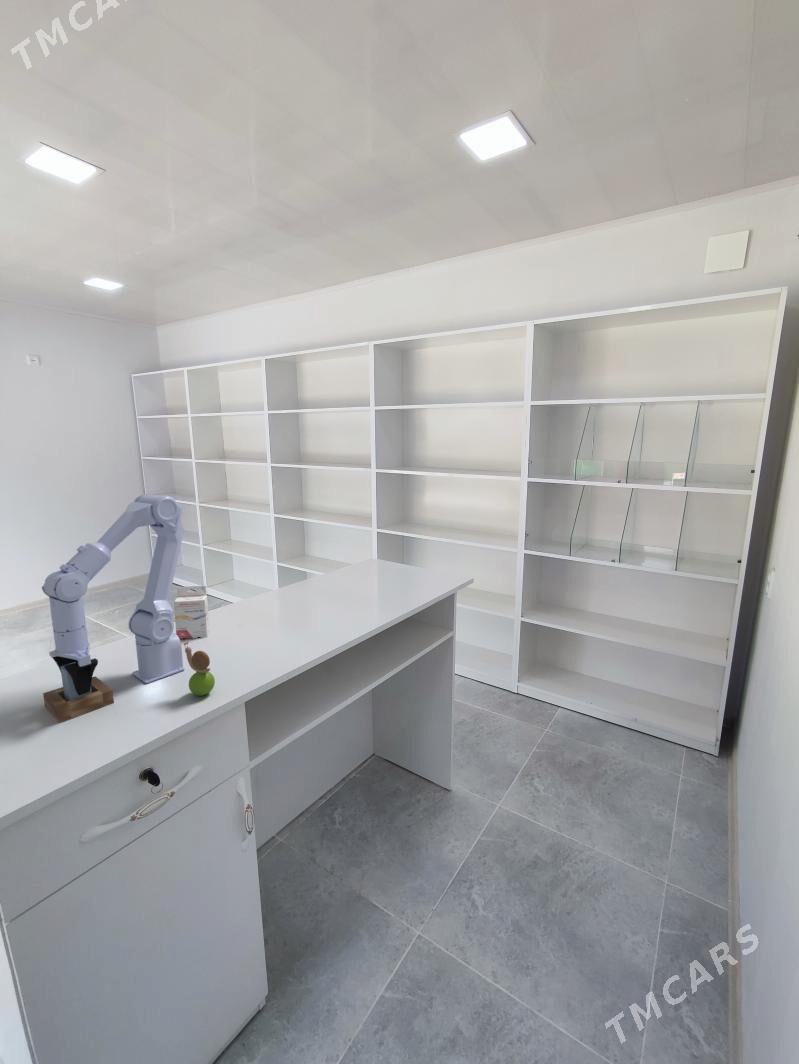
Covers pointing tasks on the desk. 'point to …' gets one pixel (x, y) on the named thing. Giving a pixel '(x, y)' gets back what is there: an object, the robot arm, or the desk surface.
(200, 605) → the ink cartridge box
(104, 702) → the walnut collar
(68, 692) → the slate-blue peg
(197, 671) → the snail figurine
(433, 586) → the desk surface
